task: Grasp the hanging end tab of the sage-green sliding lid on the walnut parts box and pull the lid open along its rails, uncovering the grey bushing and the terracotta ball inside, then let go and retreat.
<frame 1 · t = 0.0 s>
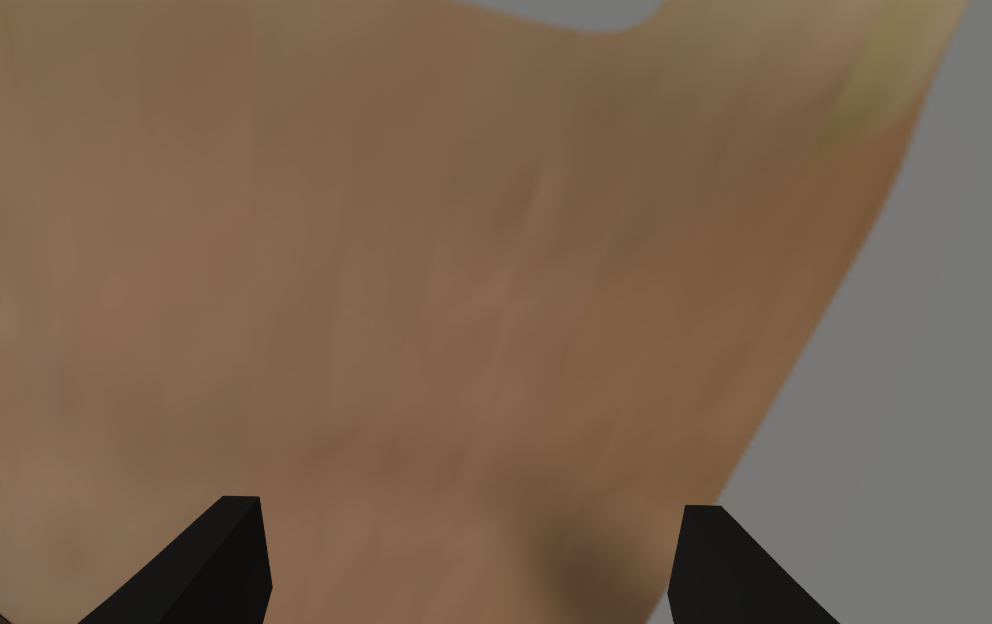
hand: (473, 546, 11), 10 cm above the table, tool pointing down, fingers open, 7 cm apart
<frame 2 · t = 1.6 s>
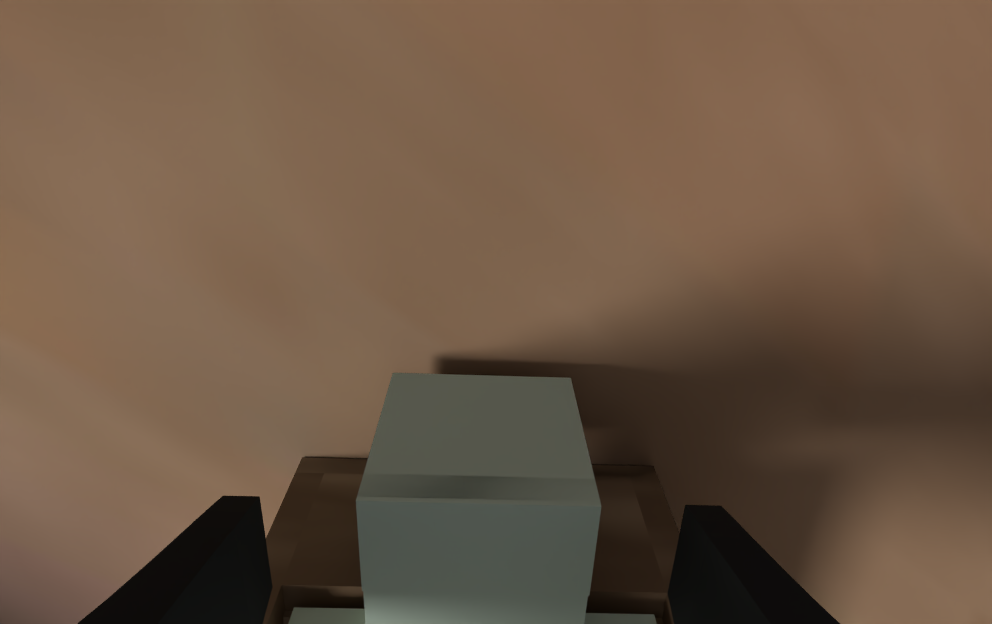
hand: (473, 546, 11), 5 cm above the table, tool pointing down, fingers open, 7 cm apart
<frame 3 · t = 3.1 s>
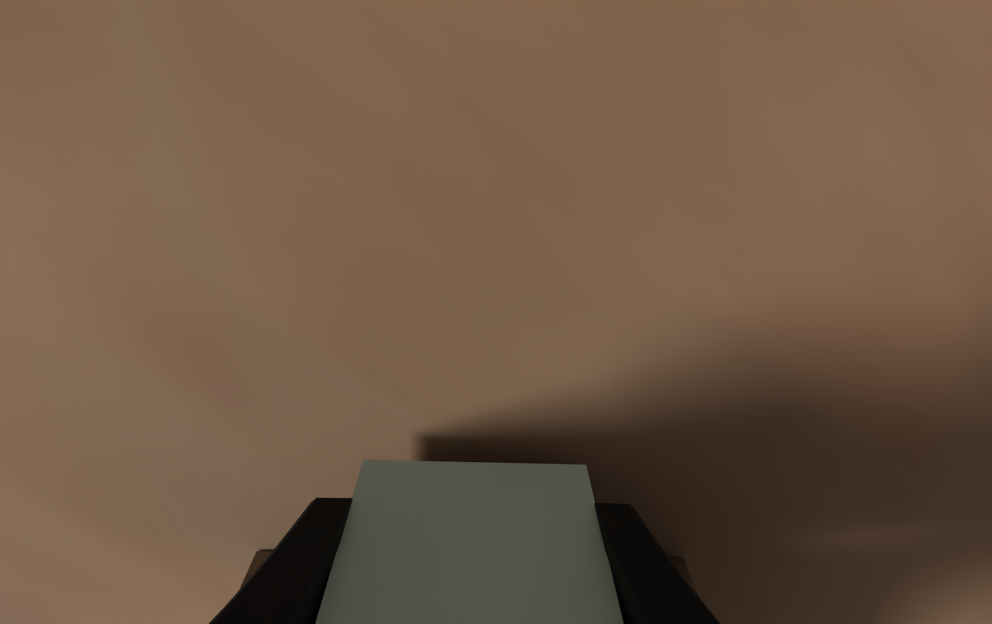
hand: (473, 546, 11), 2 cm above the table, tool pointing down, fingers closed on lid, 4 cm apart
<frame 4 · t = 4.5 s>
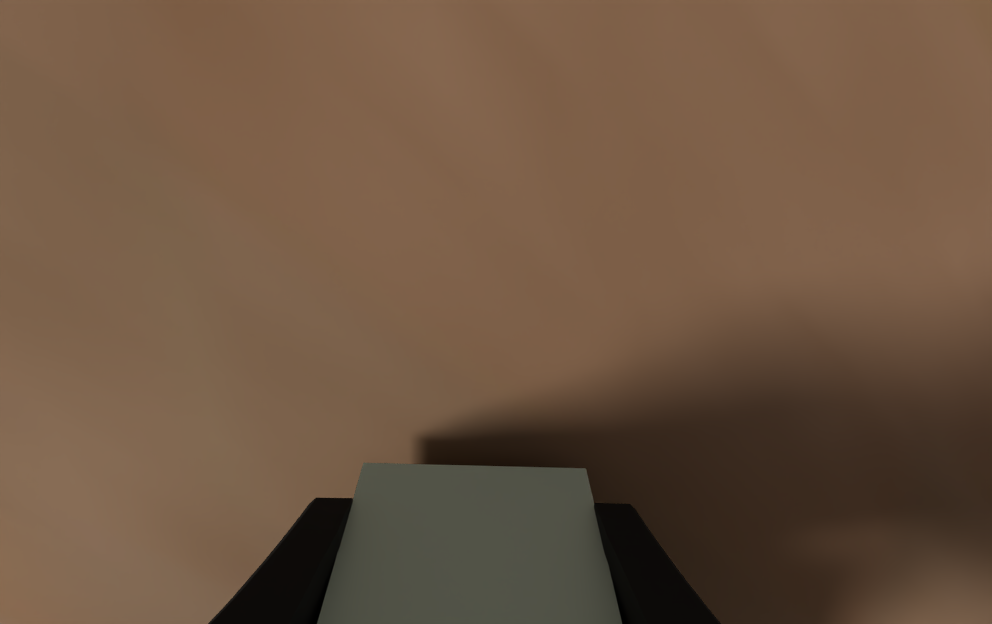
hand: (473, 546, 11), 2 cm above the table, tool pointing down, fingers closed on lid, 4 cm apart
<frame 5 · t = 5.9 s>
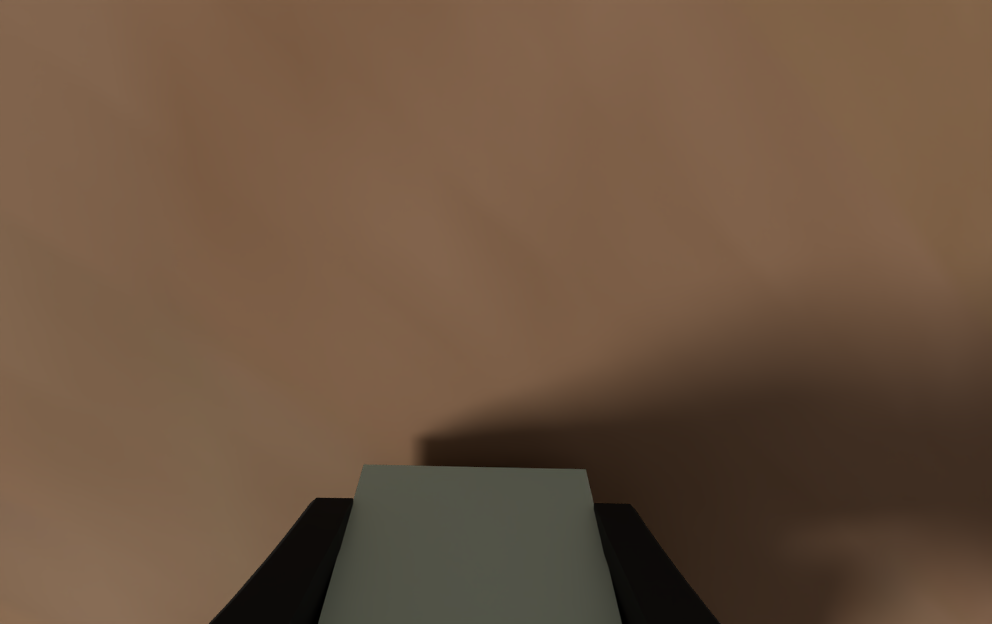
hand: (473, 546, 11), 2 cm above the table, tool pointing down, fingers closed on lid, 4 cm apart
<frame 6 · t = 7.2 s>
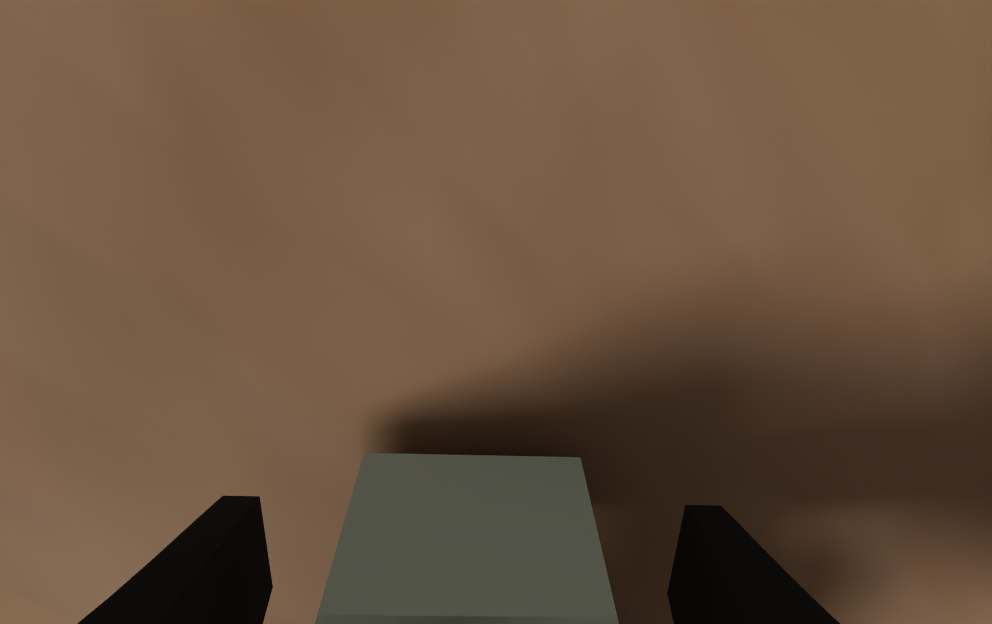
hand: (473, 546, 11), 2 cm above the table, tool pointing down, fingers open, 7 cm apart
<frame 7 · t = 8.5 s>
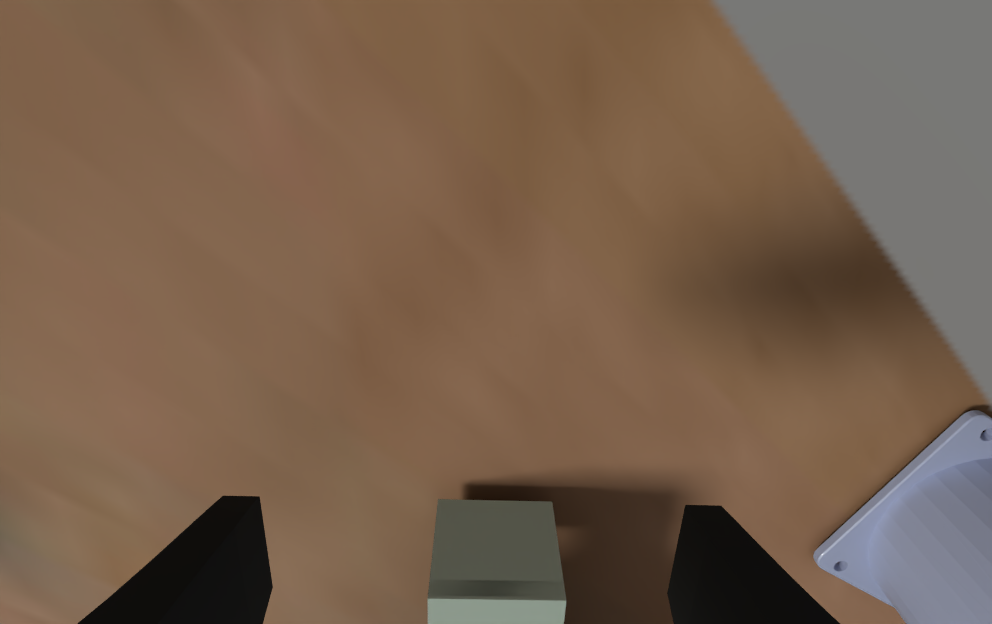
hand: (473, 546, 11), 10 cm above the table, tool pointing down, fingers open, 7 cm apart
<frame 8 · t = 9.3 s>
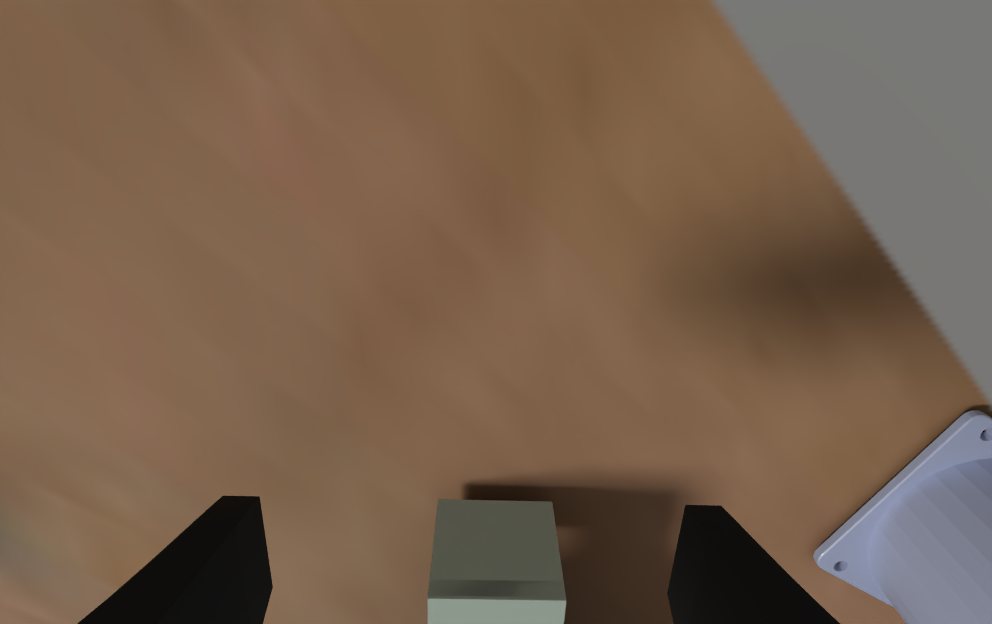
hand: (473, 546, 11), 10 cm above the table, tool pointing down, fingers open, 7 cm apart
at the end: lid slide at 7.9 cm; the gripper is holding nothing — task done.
